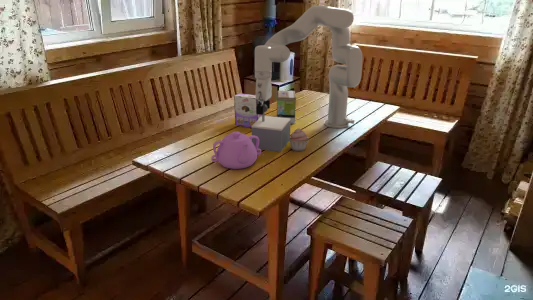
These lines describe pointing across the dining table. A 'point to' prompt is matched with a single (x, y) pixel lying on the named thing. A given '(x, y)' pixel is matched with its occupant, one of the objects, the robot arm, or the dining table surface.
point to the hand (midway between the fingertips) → (263, 111)
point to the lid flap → (270, 121)
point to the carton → (272, 138)
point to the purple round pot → (236, 151)
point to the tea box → (286, 105)
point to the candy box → (245, 110)
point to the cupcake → (298, 140)
